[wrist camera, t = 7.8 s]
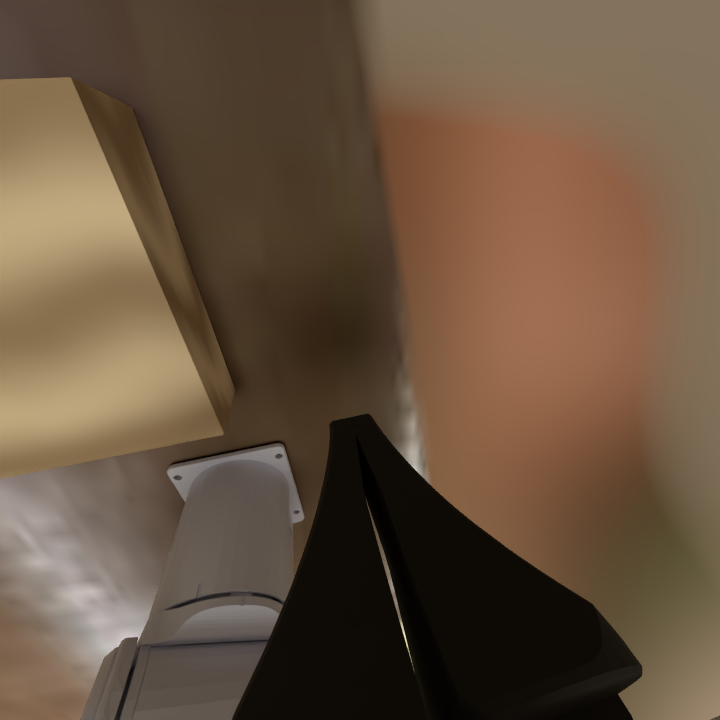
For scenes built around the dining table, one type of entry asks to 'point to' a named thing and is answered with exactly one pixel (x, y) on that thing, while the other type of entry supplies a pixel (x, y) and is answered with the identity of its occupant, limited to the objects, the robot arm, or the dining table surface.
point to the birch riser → (94, 290)
